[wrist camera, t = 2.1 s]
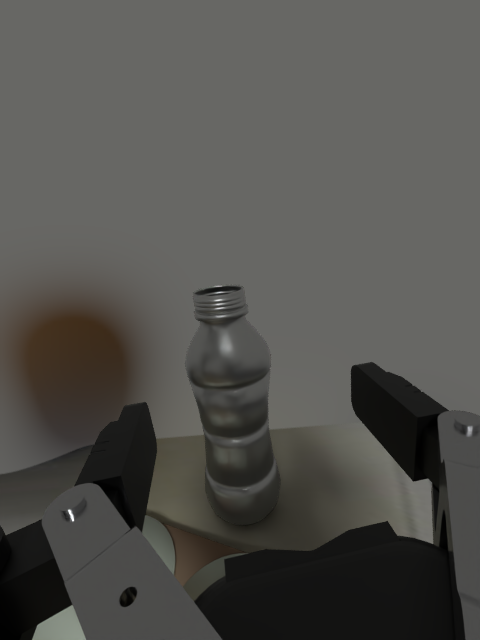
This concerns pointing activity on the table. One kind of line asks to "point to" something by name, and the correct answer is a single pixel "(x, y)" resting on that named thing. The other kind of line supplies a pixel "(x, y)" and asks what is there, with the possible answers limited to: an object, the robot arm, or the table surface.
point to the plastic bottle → (233, 406)
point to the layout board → (179, 556)
